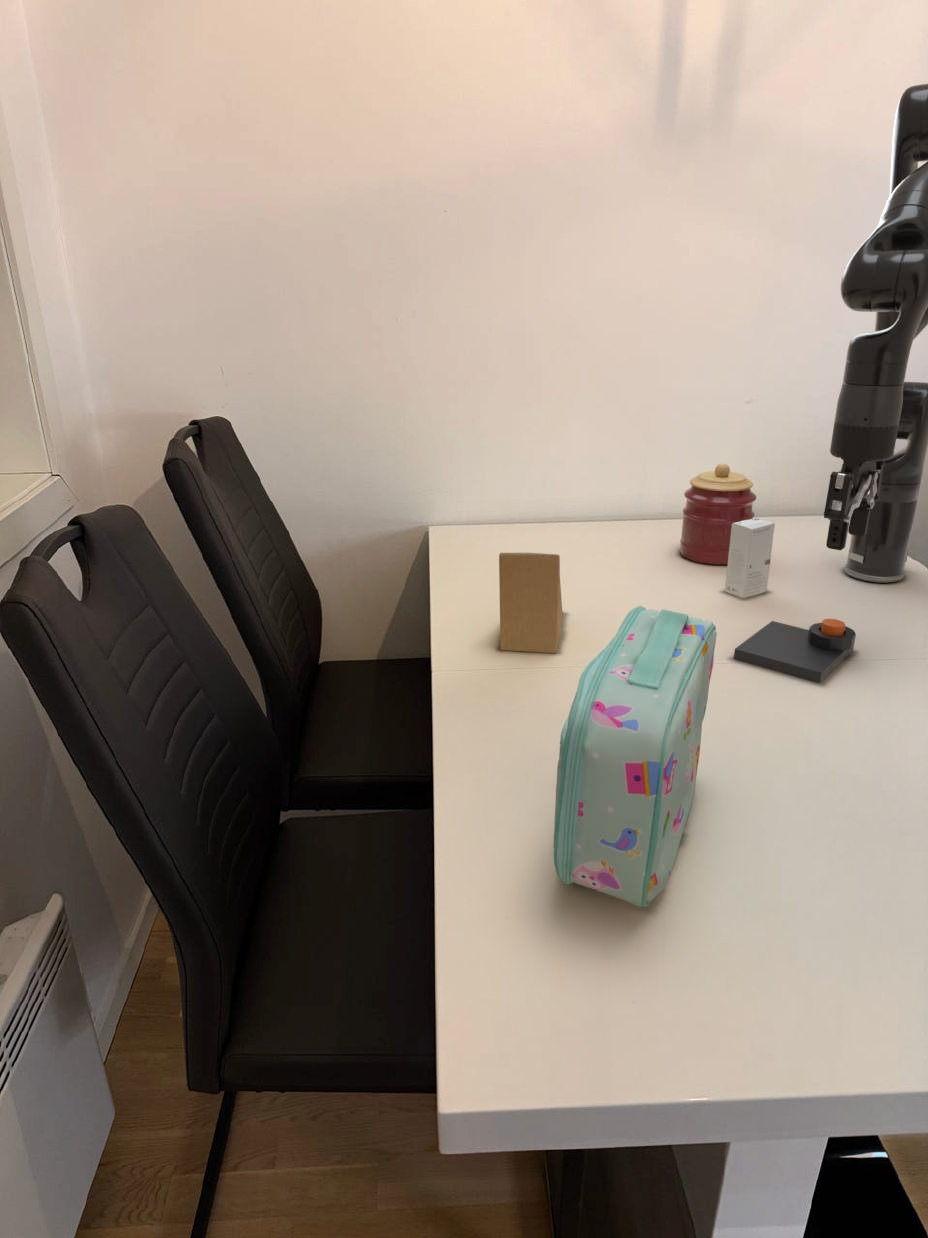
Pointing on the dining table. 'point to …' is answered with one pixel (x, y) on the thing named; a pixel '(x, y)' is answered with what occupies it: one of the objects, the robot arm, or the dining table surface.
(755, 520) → the cosmetic box
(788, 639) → the button base plate
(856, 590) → the dining table surface
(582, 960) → the dining table surface
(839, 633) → the tare button
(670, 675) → the lunch box
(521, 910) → the dining table surface
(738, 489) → the kitchen canister
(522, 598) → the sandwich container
